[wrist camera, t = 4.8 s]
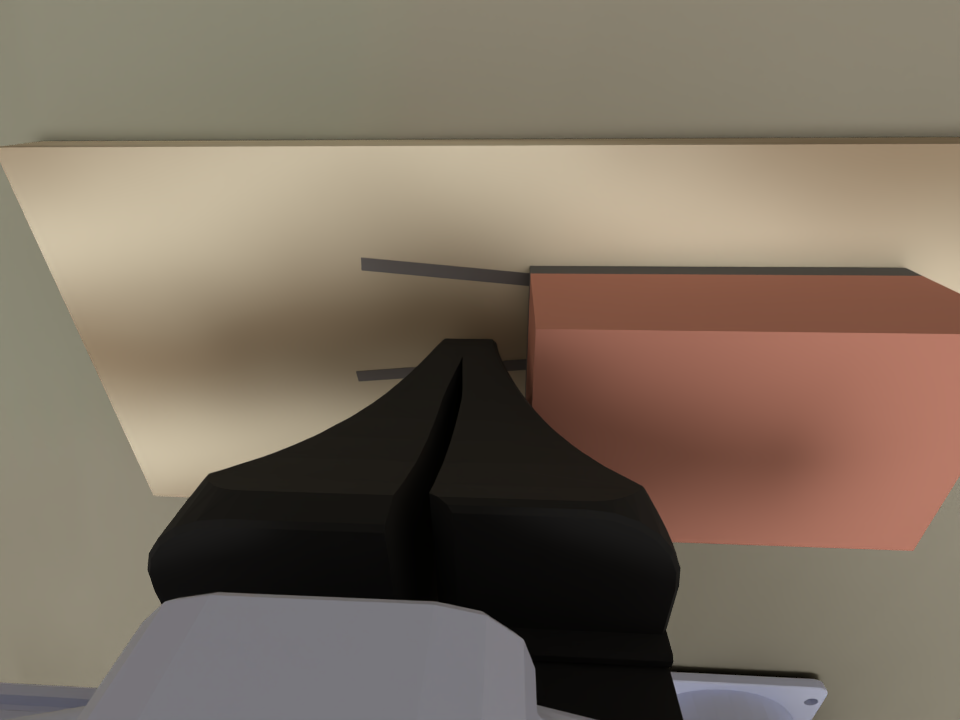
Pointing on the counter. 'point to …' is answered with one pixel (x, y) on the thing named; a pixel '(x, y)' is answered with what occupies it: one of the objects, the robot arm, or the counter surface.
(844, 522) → the block
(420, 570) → the robot arm
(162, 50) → the counter surface
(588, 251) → the plank
